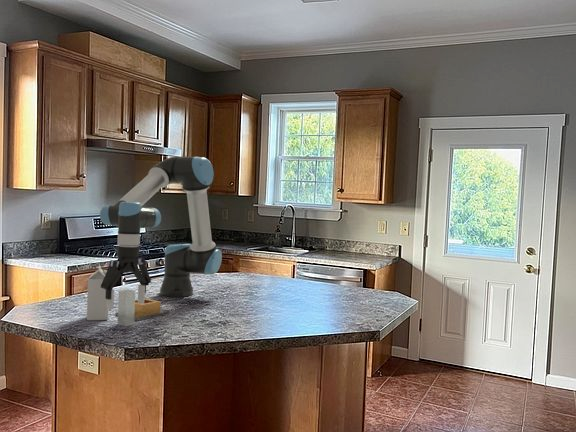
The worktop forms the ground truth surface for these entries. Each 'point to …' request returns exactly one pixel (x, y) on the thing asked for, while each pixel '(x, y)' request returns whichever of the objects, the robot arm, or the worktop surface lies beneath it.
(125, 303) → the white tall block
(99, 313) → the milk carton
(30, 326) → the worktop surface
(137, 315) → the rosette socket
